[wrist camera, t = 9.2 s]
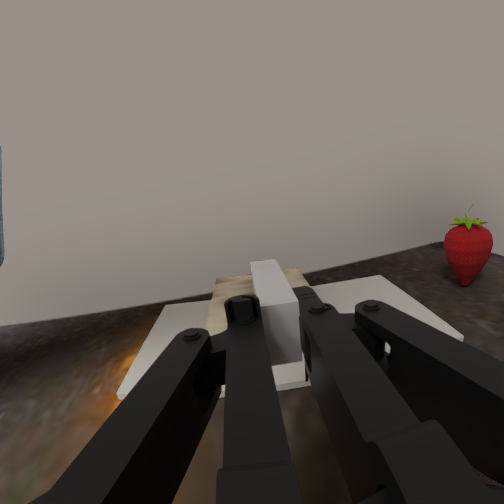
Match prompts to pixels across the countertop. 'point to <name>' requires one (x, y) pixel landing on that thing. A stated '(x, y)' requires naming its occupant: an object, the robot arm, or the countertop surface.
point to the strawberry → (467, 248)
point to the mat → (293, 374)
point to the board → (236, 287)
